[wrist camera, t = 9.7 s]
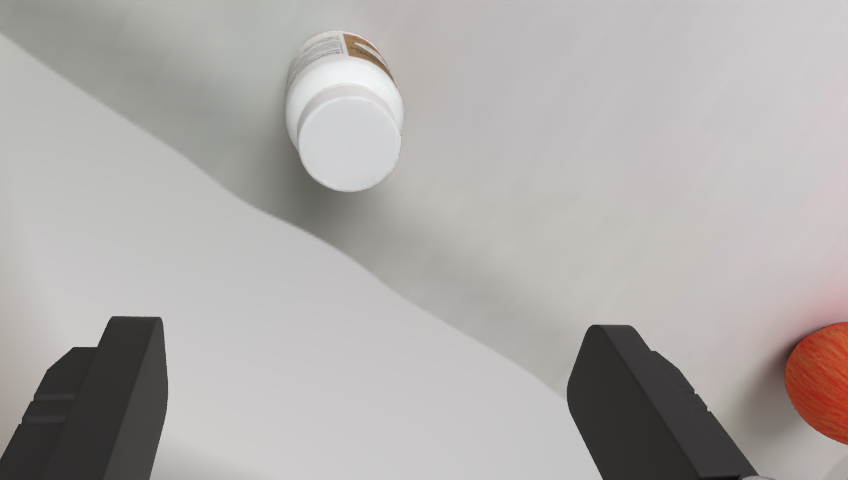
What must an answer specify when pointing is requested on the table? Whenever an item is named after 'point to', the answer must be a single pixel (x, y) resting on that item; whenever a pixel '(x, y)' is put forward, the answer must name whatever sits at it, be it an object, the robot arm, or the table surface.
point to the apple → (821, 380)
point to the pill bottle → (344, 111)
